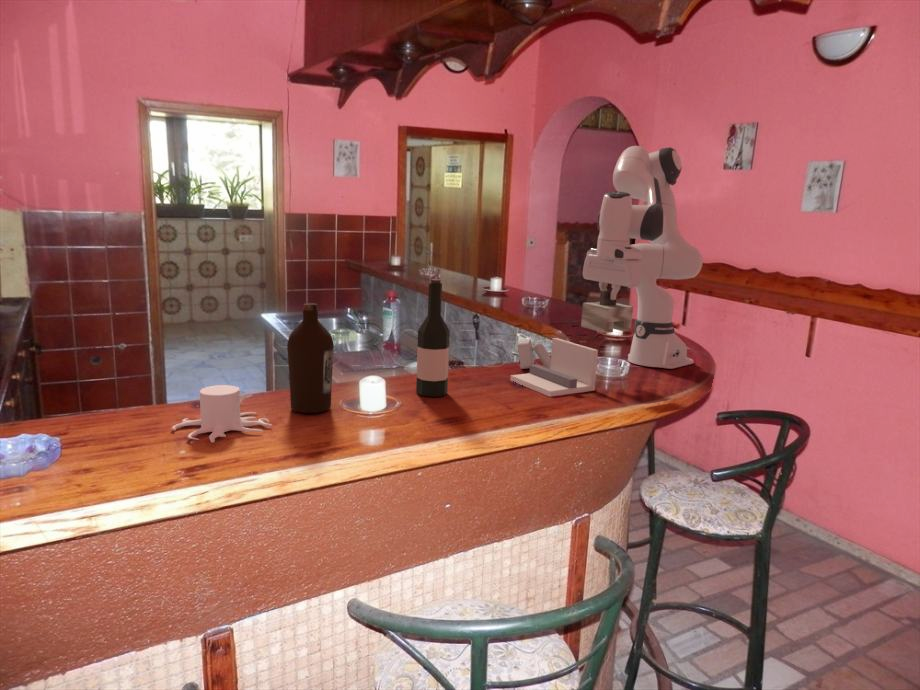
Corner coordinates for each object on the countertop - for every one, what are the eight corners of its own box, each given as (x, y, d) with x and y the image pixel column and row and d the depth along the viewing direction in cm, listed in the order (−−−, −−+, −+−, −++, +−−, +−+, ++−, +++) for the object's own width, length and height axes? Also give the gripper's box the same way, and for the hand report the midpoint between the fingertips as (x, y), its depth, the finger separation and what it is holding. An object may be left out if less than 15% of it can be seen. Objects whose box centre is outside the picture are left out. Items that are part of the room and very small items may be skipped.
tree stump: (281, 431, 140) (280, 394, 138) (186, 447, 129) (184, 408, 127) (249, 406, 156) (248, 373, 154) (163, 419, 144) (161, 383, 143)
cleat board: (553, 375, 196) (556, 337, 194) (594, 390, 181) (598, 350, 179) (510, 380, 188) (512, 341, 186) (549, 396, 173) (552, 354, 171)
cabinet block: (606, 324, 195) (609, 288, 193) (630, 330, 187) (634, 292, 185) (581, 326, 190) (584, 289, 188) (604, 333, 182) (608, 294, 179)
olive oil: (282, 413, 150) (281, 306, 145) (294, 399, 161) (293, 299, 156) (328, 415, 150) (328, 308, 145) (337, 401, 161) (337, 301, 156)
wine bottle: (429, 386, 178) (432, 277, 172) (453, 392, 173) (458, 280, 167) (409, 392, 171) (412, 279, 165) (434, 398, 167) (438, 282, 161)
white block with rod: (555, 372, 197) (551, 340, 195) (521, 375, 199) (517, 344, 198) (556, 366, 205) (552, 335, 203) (524, 369, 207) (520, 339, 205)
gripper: (579, 247, 191) (576, 294, 194) (630, 253, 174) (625, 304, 177) (595, 247, 194) (591, 293, 197) (647, 253, 177) (642, 303, 180)
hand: (608, 298), depth 187 cm, fingers closed on cabinet block, 2 cm apart
